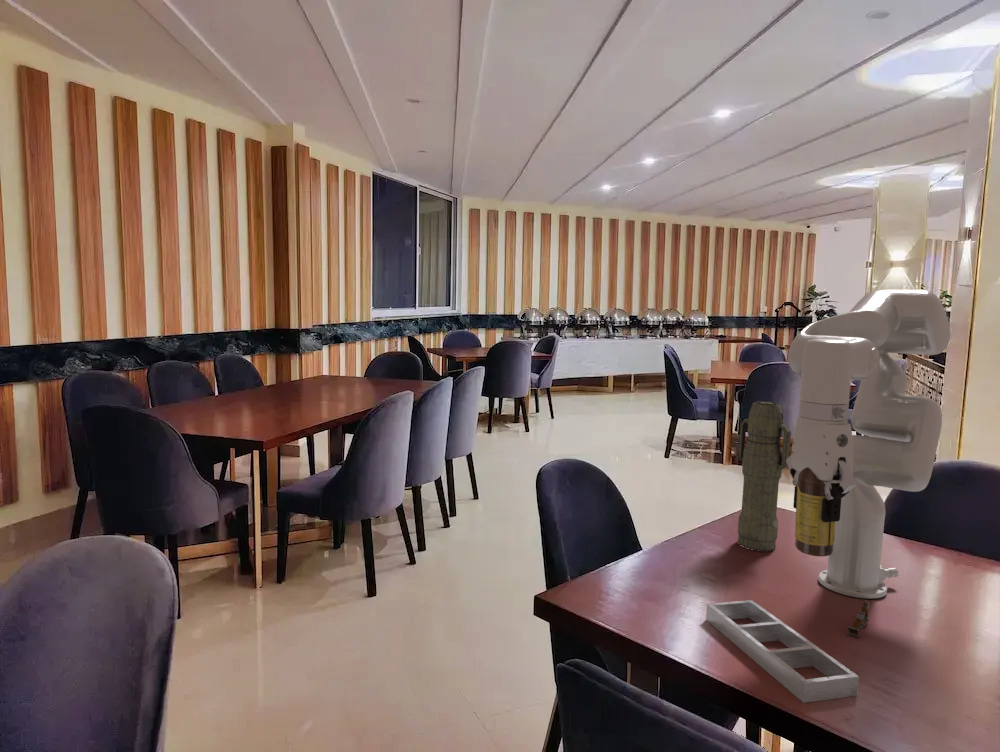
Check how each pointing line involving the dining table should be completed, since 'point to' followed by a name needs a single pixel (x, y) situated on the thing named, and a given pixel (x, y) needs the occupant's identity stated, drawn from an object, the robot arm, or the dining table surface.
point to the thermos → (761, 474)
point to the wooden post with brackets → (860, 620)
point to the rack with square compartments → (782, 651)
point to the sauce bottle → (812, 517)
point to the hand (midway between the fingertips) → (815, 513)
